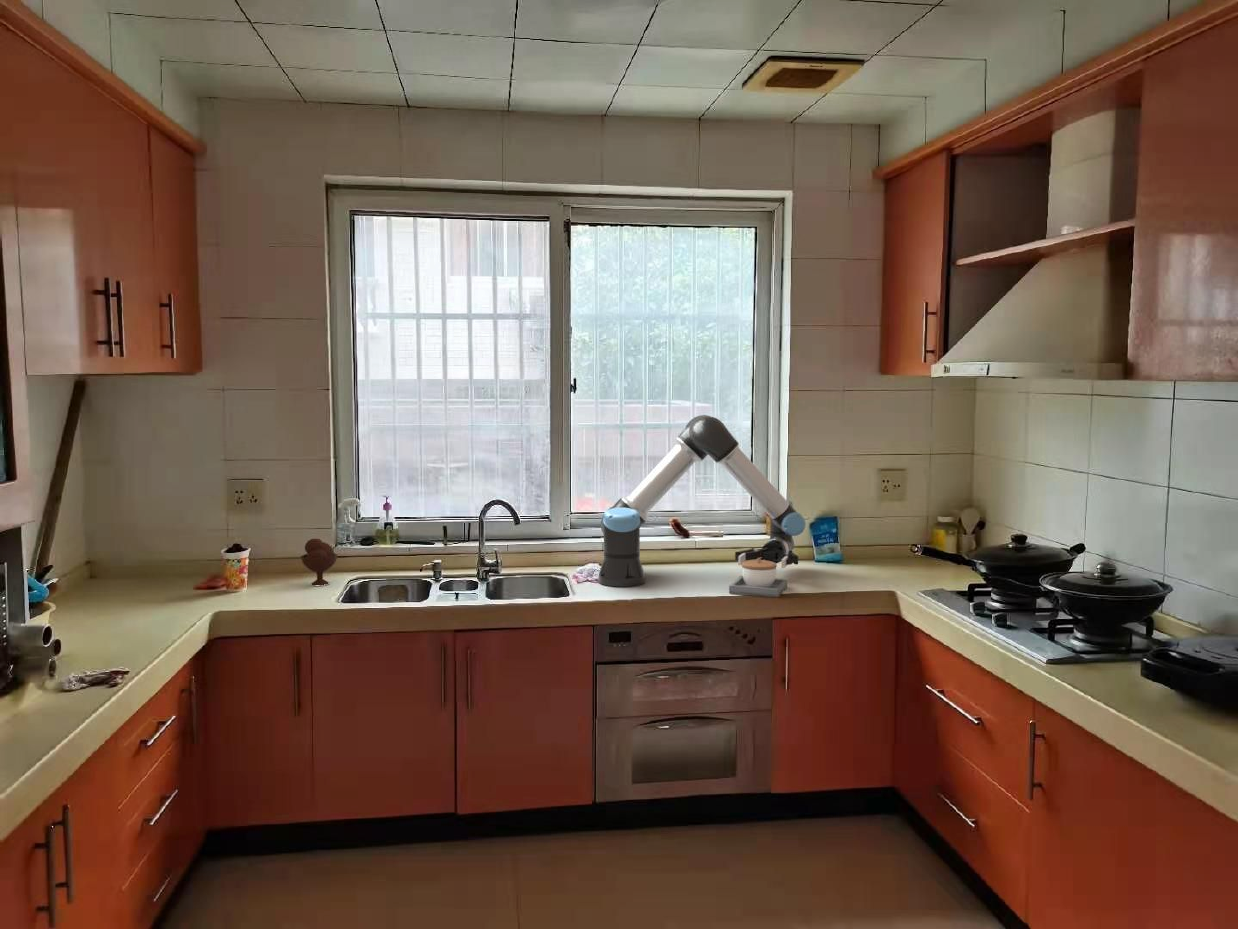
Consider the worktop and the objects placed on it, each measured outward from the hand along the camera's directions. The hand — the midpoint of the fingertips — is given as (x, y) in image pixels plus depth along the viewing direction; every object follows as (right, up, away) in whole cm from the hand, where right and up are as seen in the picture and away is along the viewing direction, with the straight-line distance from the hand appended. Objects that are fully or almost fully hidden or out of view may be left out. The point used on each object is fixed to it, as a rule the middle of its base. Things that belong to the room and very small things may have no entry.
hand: (760, 562), depth 276 cm
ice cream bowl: (-140, -8, +9) cm, 140 cm away
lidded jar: (-1, -8, 0) cm, 8 cm away
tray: (-1, -9, 0) cm, 9 cm away
